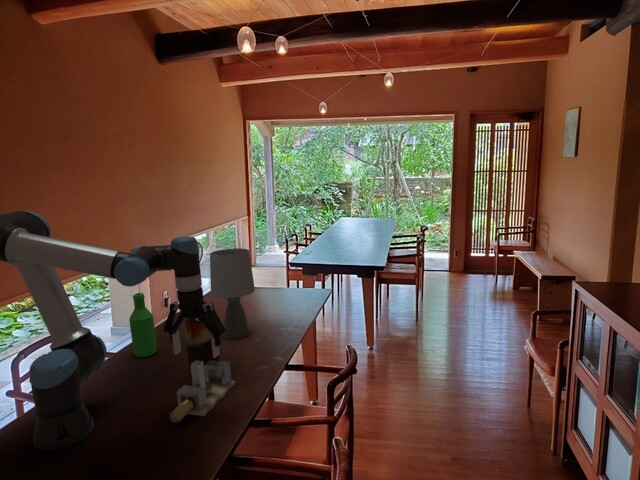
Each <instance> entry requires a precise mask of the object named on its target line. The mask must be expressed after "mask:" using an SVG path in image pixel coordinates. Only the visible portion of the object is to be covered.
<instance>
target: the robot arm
mask: <svg viewBox="0 0 640 480" xmlns="http://www.w3.org/2000/svg"><path fill="white" fill-rule="evenodd" d="M51 235H52V230H51V225H50V223H49V222H48V221H47V220H46V218H45V217H43V216H42V215H41V214H40V213H37V212H35V211H31V210H17V211H12V212H6V213H4V214H3V213H2V214H0V262H3V263H8V264H9V265H11V266H14V267H16V268H17V270H18V271H19V273H20V276H21V277H22V280H23V282H24V284H25V286H26V288H27V290H28V292H29V294H30V296H31V298H32V300H33V303H34V304H35V306H36V309H37V310H38V313H39V315H40V316H41V319H42V321H43V322H44V325H45V327H46V329H47V330H48V333H49V335H50V337H51V339H52V341H51V344H50V346H49V348H50V350H51V351H49V352H47V353H43V354H42V355H40V356H38V357H37V358H36V359H34V360H33V361H32V363H31V365H30V366H29V370H28V371H29V379H28V380H29V383H30V386H31V391H32V398H33V403H34V404H33V405H34V409H35V415H36V418H35V425H34V430H33V432H32V443H33V446H34V448H35V449H37V450H40V451H44V452H46V451H47V452H49V451H50V452H51V451H57V450H62V449H66V448H69V447H71V446H74V445H76V444H78V443H80V442H81V441H83V440H85V439H86V438H87V437H88V436H89V435H91V434H92V432H93V431H94V427H95V425H94V420H93V419H94V418H93V416H92V415H91V413H90V411H89V410H88V408H87V407H86V405H85V403H84V398H83V390H82V386H83V385H84V384H85V383H86V382H87V381H88V379H90V378H91V377H92V376H93V375H94V374H96V373H97V372H99V370H100V369H101V367H102V366H103V364H104V363H105V361H106V358H107V346H106V344H105V342H104V340H103V339H102V338H101V337H100V336H97V335H96V334H93V333H92V331H91V329H90V328H88V327H85V326H83V325H82V322H81V321H80V319H79V316H78V314H77V312H76V310H75V308H74V306H73V303H72V302H71V300H70V297H69V296H68V295H69V294H68V293H67V291H66V288H65V287H64V285H63V282H62V280H61V278H60V276H59V274H58V272H57V270H56V269H57V268H58V269H63V270H66V271H67V270H68V271H72V272H77V273H82V274H88V275H93V276H94V275H95V276H99V277H103V278H108V279H113V280H116V281H117V282H118V283H119V284H121V285H122V286H124V287H130V288H131V287H135V286H137V285H140V284H141V283H144V282H145V281H146V280H147V279H148V278H149V277H151V276H152V275H154V274H155V273H157V272H160V271H161V272H165V271H173V272H174V281H175V289H176V296H177V301H173V302H172V303H169V312H168V313H167V317H166V321H165V324H164V326H163V332H164V333H168V334H169V337H170V343H171V344H172V346H173V347H172V348H173V355H175V356H176V355H179V353H181V352H182V347H181V346H182V345H181V338H180V337H181V336H180V331H178V329H179V327H180V326H181V325H182V323H184V321H185V319H186V318H193V319H196V318H197V319H198V320H199V321H201V322H202V323H203V324H204V326H205V327H206V328H207V329H208V330H209V331H210V333H211V334H212V335H213V336H212V337H211V342H212V351H213V358H216V357H217V356H218V355H219V356H220V355H221V354H220V346H221V344H222V342H221V341H222V340H221V336H222V335H224V334H223V333H225V332H226V330H225V328H224V323H222V321H221V319H220V317H219V316H218V313H217V312H216V310H215V306H214V303H213V302H210V303H207V304H206V305H204V303H203V301H204V290H203V287H202V286H203V283H202V282H203V281H202V274H201V273H202V271H201V262H200V251H199V247H198V246H199V245H198V240H197V238H196V237H195V236H189V235H187V236H186V235H185V236H177V237H174V238H172V239H170V244H167V245H165V244H164V245H152V246H151V245H148V246H147V245H142V246H136V247H133V248H132V249H131V251H130V252H125V251H120V250H116V249H111V248H105V247H100V246H97V245H96V246H95V245H90V244H86V243H81V242H76V241H70V240H64V239H62V238H61V239H60V238H55V237H51ZM204 309H205V311H206V312H207V314H208V316H209V318H210V319H209V318H208V316H207V314H206V312H205V311H204ZM178 311H180V313H179V315H178V316H177V313H178ZM201 314H202V316H200V315H201ZM176 316H177V319H176ZM175 319H176V320H175ZM174 321H175V322H174Z"/></svg>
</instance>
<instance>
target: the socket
mask: <svg viewBox="0 0 640 480" xmlns="http://www.w3.org/2000/svg"><path fill="white" fill-rule="evenodd" d="M230 363H231V362H230V361H224V360H220V361H215V360H210V361H208V362H207V363H206V364H205V365H204V370H205V381H207V382H210V383H211V382H212V381H222V386H226V385H227V384H228V383H229V382H230V381H232V374H231V364H230Z"/></svg>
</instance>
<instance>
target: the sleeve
mask: <svg viewBox="0 0 640 480" xmlns="http://www.w3.org/2000/svg"><path fill="white" fill-rule="evenodd" d="M188 396H191V397H195V402H196V412H201V411H202V410H203V409H204V408H205V407H206V406H207V401H206V390H205V388H203V387H194V386H193V385H182V386H181V387H180V388H179V389H178V390H177V391H176V397H177V398H176V399H177V406H178V405H180V404H181V403H182V402H183V401H184V400H185V399H186V398H187V397H188Z"/></svg>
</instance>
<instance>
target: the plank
mask: <svg viewBox="0 0 640 480" xmlns="http://www.w3.org/2000/svg"><path fill="white" fill-rule="evenodd" d="M205 382H206V380H205ZM211 385H212V390H211V391H210V392H209V393H208V394H207V397H206V401H207V406H206V407H205V408H204V409H203V410H202V411H201V412H196V406H195V407H194V408H193V409H192V410H191V411H190V412H189V413H188V414H187V415H191V416H199V417H205V416H206V415H207V414H209V412H210V411H211V410H212V409H213V408H214V407H215V406H216V405H217V404H218V403H219V402H220V400H222V398H223V397H224V396H225V395H226V394H227V393H229V391H230V390H231V389H232V388H233V387H234V386H235V385H236V382H235V380H231V381H230V382H229V383H228V384H227V385H226V386H222V381H212V382H211Z"/></svg>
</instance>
